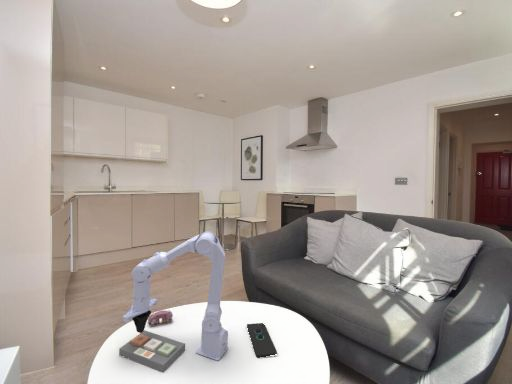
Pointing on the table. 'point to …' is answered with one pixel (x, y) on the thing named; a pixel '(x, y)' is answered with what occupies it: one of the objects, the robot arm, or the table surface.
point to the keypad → (151, 357)
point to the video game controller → (160, 316)
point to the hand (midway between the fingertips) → (140, 331)
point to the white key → (153, 345)
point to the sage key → (166, 350)
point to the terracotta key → (140, 340)
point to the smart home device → (261, 340)
